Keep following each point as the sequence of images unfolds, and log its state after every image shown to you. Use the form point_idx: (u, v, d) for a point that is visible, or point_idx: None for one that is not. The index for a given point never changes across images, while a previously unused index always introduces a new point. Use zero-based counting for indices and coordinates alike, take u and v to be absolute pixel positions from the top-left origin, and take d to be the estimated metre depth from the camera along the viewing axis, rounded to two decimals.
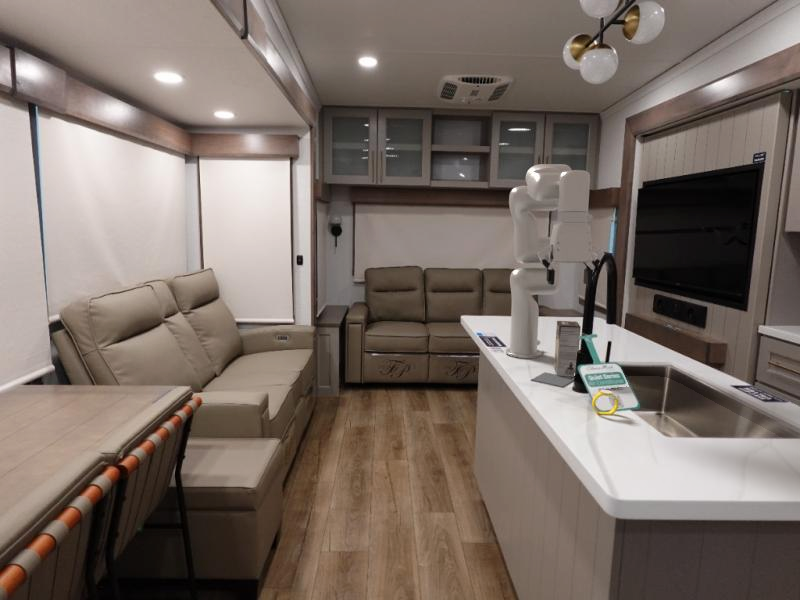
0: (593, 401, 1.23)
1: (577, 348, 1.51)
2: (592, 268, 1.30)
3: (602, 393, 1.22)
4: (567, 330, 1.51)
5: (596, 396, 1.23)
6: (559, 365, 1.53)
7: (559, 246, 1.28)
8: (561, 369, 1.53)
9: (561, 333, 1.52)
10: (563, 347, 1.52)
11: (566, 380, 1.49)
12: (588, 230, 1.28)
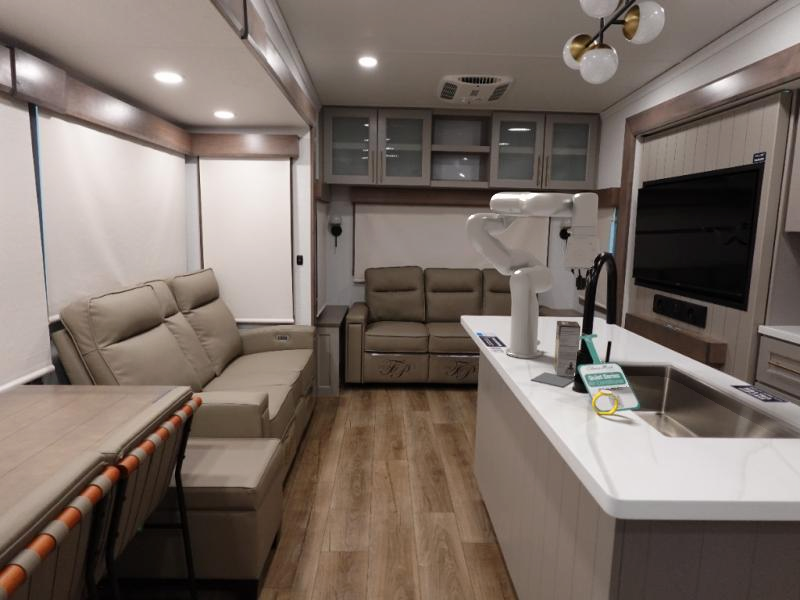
0: (593, 401, 1.23)
1: (577, 348, 1.51)
2: None
3: (602, 393, 1.22)
4: (567, 330, 1.51)
5: (596, 396, 1.23)
6: (559, 365, 1.53)
7: None
8: (561, 369, 1.53)
9: (561, 333, 1.52)
10: (563, 347, 1.52)
11: (566, 380, 1.49)
12: None
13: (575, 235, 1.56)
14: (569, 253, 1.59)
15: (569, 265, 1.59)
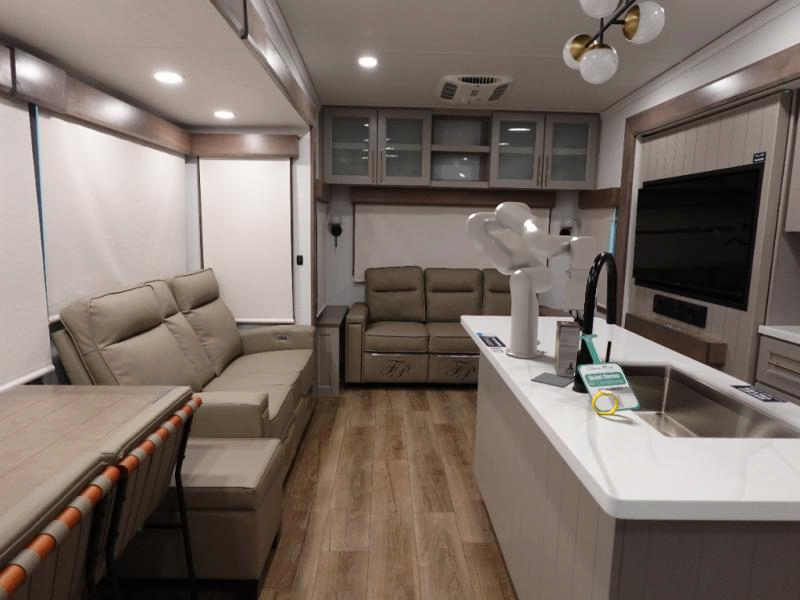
0: (593, 401, 1.23)
1: (577, 348, 1.51)
2: None
3: (602, 393, 1.22)
4: (567, 330, 1.51)
5: (596, 396, 1.23)
6: (559, 365, 1.53)
7: None
8: (561, 369, 1.53)
9: (561, 333, 1.52)
10: (563, 347, 1.52)
11: (566, 380, 1.49)
12: None
13: (573, 278, 1.58)
14: (566, 295, 1.61)
15: (567, 307, 1.61)
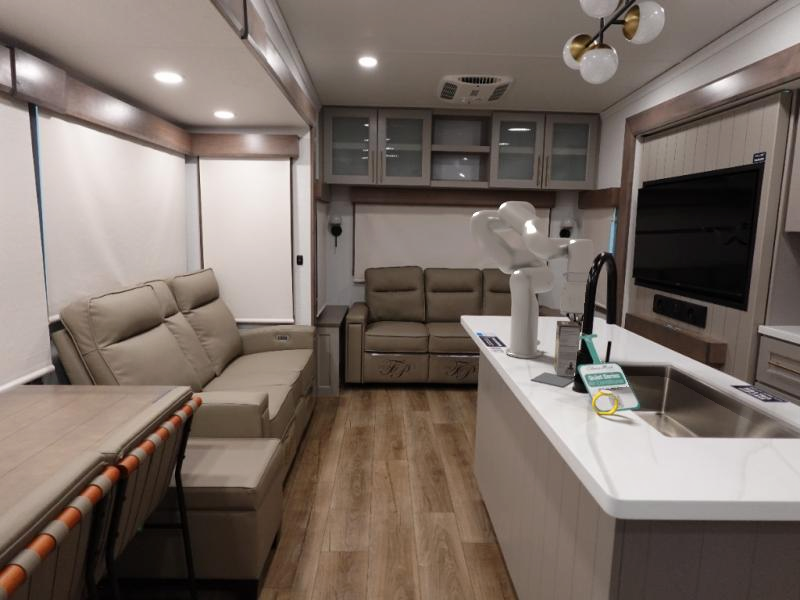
0: (593, 401, 1.23)
1: (577, 348, 1.51)
2: None
3: (602, 393, 1.22)
4: (567, 330, 1.51)
5: (596, 396, 1.23)
6: (559, 365, 1.53)
7: None
8: (561, 369, 1.53)
9: (561, 333, 1.52)
10: (563, 347, 1.52)
11: (566, 380, 1.49)
12: None
13: (570, 281, 1.57)
14: (564, 298, 1.59)
15: (564, 310, 1.60)
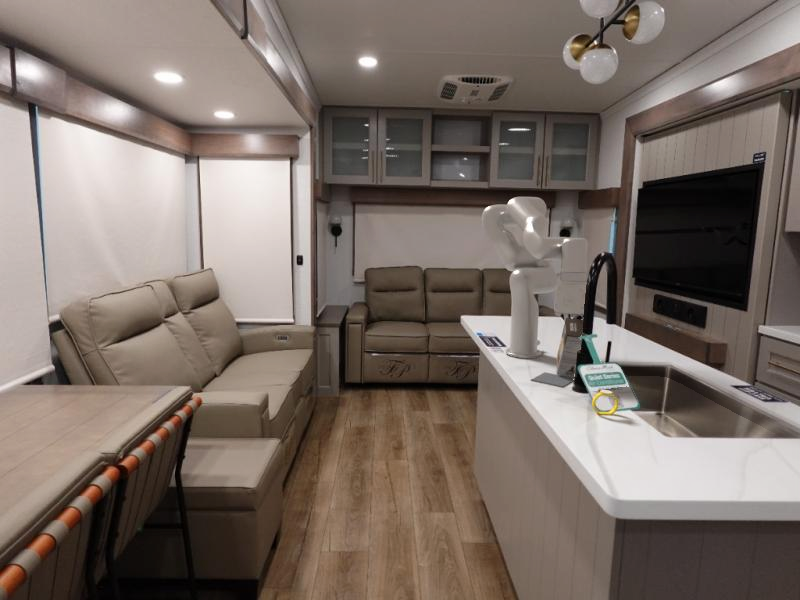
0: (593, 401, 1.23)
1: None
2: None
3: (602, 393, 1.22)
4: (573, 339, 1.45)
5: (596, 396, 1.23)
6: (560, 367, 1.52)
7: None
8: (562, 370, 1.52)
9: (567, 342, 1.46)
10: (567, 353, 1.48)
11: (566, 380, 1.49)
12: None
13: (564, 281, 1.52)
14: (558, 299, 1.55)
15: (559, 311, 1.55)
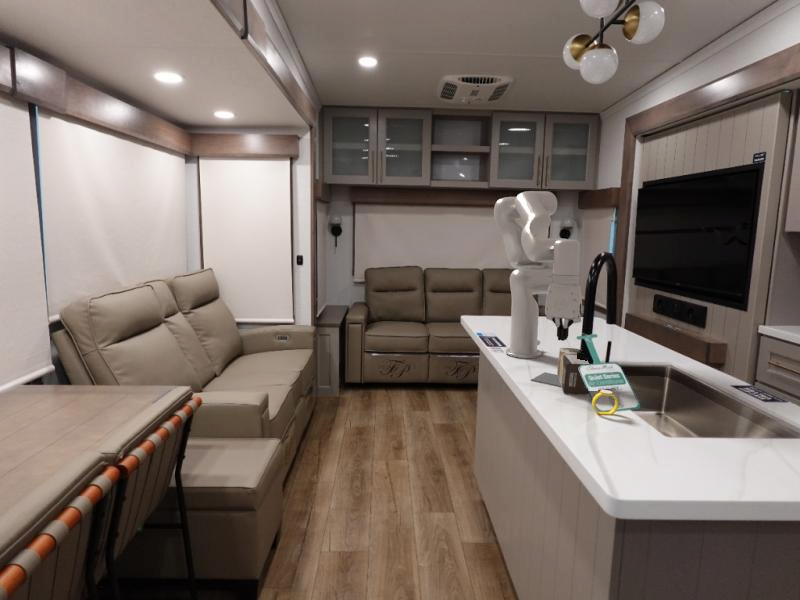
0: (593, 401, 1.23)
1: None
2: None
3: (602, 393, 1.22)
4: None
5: (596, 396, 1.23)
6: None
7: None
8: None
9: None
10: None
11: None
12: None
13: (556, 284, 1.48)
14: (549, 302, 1.51)
15: (550, 314, 1.51)
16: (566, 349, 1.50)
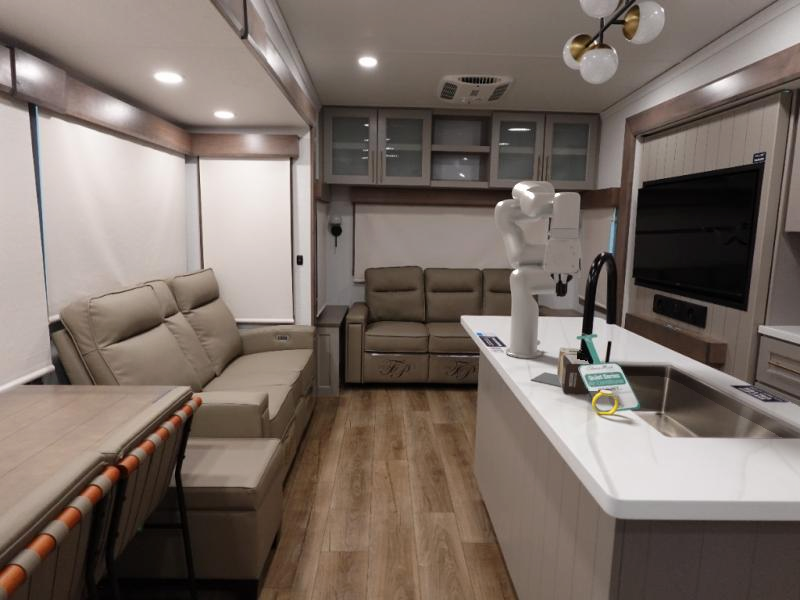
0: (593, 401, 1.23)
1: None
2: None
3: (602, 393, 1.22)
4: None
5: (596, 396, 1.23)
6: None
7: None
8: None
9: None
10: None
11: None
12: None
13: (555, 238, 1.45)
14: (548, 257, 1.48)
15: (549, 270, 1.48)
16: (566, 349, 1.50)
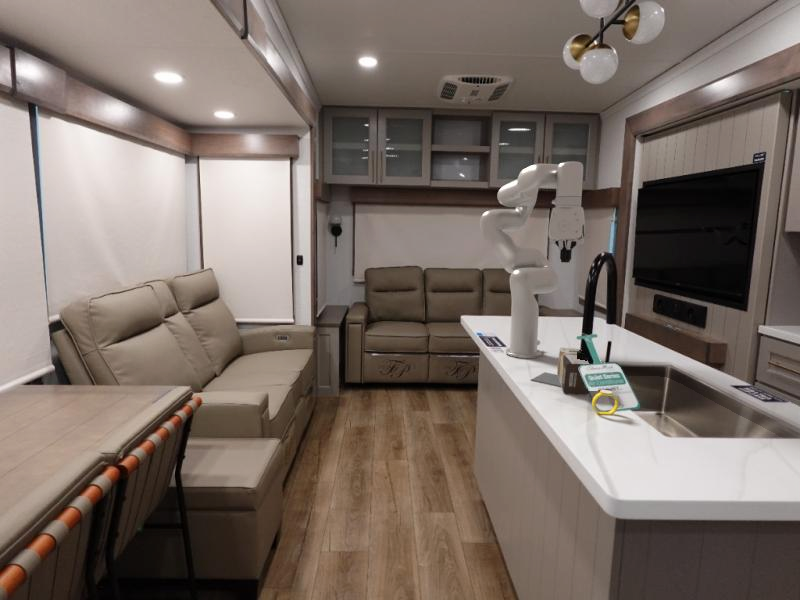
0: (593, 401, 1.23)
1: None
2: None
3: (602, 393, 1.22)
4: None
5: (596, 396, 1.23)
6: None
7: None
8: None
9: None
10: None
11: None
12: None
13: (559, 205, 1.52)
14: (553, 225, 1.55)
15: (553, 237, 1.55)
16: (566, 349, 1.50)
